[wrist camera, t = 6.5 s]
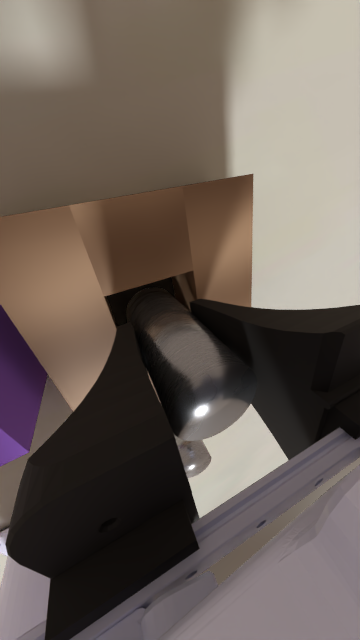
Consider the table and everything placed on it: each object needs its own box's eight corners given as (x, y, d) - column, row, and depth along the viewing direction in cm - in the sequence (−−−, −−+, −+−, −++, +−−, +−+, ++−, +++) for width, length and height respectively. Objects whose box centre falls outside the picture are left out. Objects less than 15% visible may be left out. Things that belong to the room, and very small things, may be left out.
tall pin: (179, 324, 14) (255, 413, 8) (134, 341, 13) (179, 454, 7) (171, 280, 12) (259, 348, 6) (118, 296, 11) (159, 394, 5)
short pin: (194, 431, 24) (212, 465, 20) (169, 444, 23) (183, 482, 20) (190, 414, 22) (209, 448, 19) (163, 427, 21) (177, 466, 18)
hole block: (221, 337, 19) (250, 362, 16) (89, 391, 16) (90, 437, 13) (210, 185, 13) (253, 173, 10) (-7, 223, 10) (-53, 226, 7)
